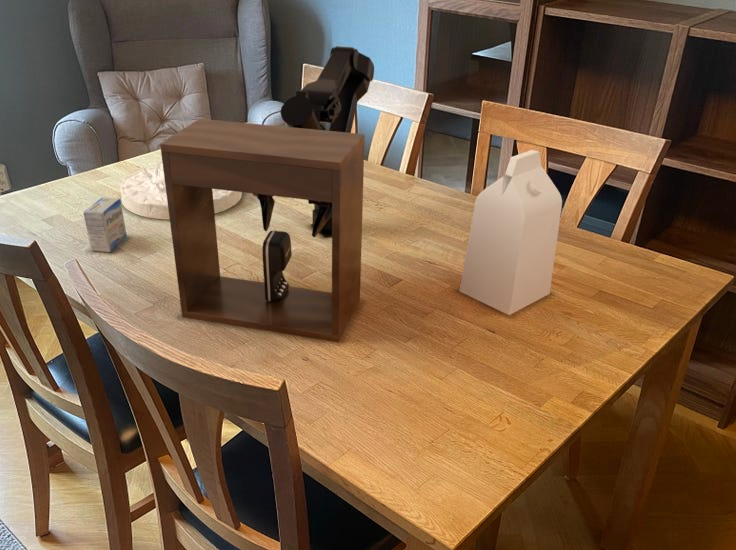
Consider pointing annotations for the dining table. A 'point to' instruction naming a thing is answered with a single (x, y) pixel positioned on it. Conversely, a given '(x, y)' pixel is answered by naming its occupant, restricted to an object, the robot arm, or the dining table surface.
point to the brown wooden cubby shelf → (275, 178)
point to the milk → (513, 237)
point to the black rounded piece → (276, 264)
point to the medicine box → (105, 224)
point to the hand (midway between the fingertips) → (289, 233)
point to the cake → (161, 194)
